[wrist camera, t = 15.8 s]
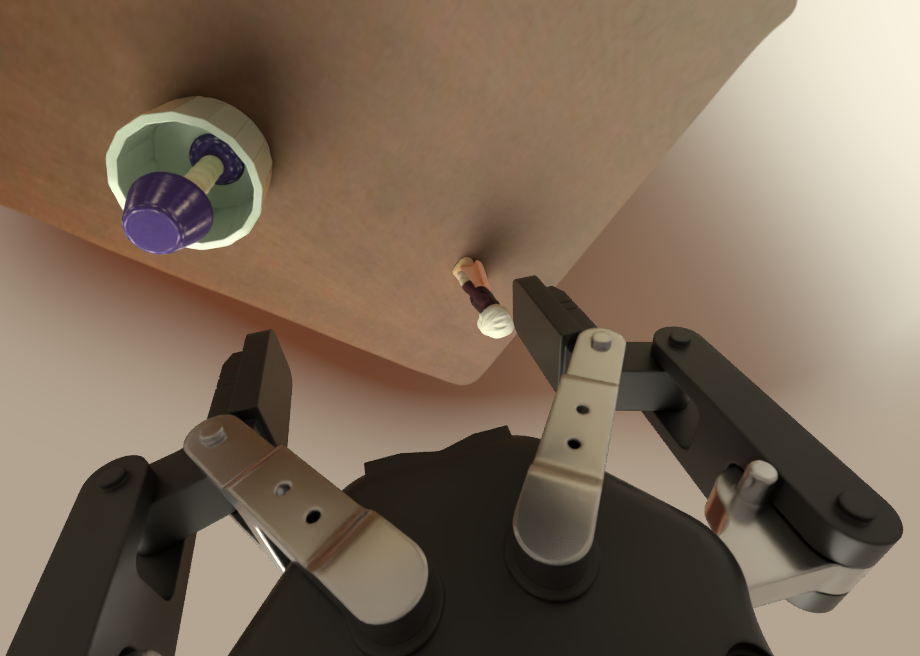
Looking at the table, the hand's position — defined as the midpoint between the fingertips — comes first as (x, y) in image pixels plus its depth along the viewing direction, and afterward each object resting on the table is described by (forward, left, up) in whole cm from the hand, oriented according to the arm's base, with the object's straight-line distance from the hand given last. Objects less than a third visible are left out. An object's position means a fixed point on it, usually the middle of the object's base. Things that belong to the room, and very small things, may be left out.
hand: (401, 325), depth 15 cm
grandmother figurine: (+16, +10, -32) cm, 37 cm away
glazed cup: (0, -12, -32) cm, 34 cm away
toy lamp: (0, -12, -32) cm, 34 cm away
